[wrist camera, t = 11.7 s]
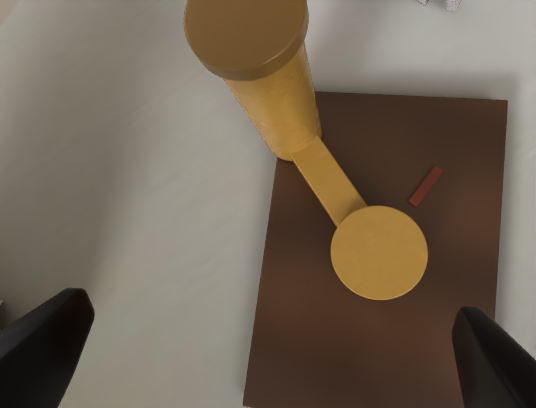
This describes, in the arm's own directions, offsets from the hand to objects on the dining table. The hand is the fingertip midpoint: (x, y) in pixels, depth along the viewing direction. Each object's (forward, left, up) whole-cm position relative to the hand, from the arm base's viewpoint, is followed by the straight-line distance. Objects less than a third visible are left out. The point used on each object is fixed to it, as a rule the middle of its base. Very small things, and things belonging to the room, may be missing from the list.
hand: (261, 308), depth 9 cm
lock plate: (+2, -3, -13) cm, 14 cm away
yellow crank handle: (+5, -1, -12) cm, 13 cm away
